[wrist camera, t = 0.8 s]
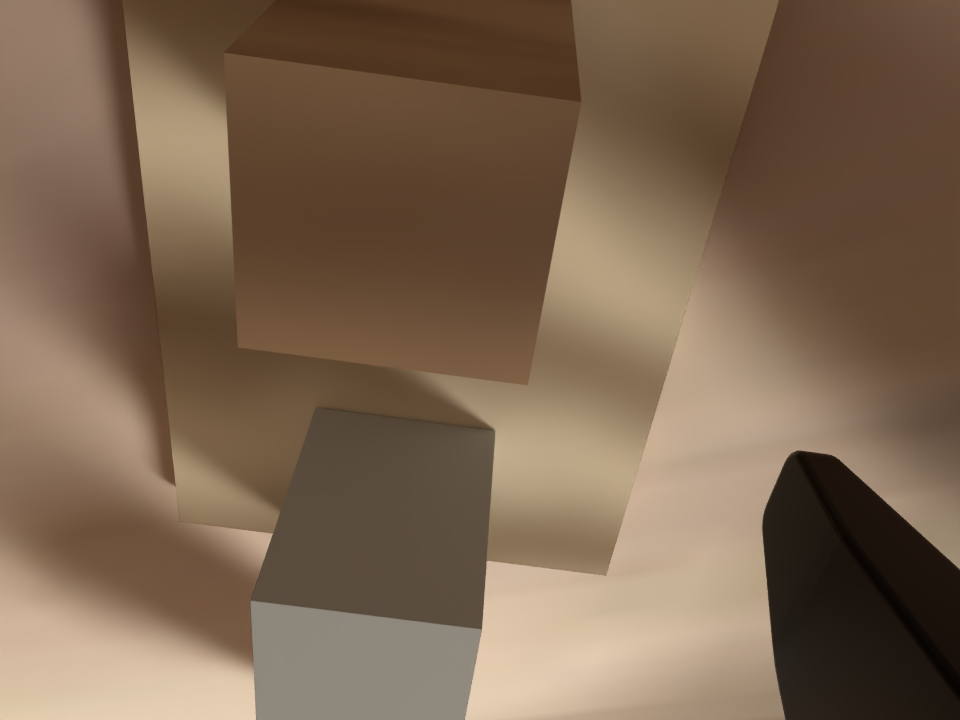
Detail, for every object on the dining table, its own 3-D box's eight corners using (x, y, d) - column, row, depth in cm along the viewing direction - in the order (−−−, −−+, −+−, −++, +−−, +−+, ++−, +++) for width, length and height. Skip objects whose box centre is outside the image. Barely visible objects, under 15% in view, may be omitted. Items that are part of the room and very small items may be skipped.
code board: (603, 548, 26) (606, 576, 25) (191, 496, 26) (179, 522, 25) (1074, -1066, 10) (1124, -1140, 9) (22, -1243, 10) (-27, -1335, 9)
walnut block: (531, 213, 19) (527, 385, 14) (318, 185, 19) (237, 347, 14) (569, -11, 16) (581, 102, 11) (322, -47, 16) (223, 52, 11)
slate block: (474, 553, 25) (458, 756, 20) (314, 533, 25) (256, 732, 20) (495, 430, 22) (481, 629, 17) (315, 407, 22) (250, 600, 17)
